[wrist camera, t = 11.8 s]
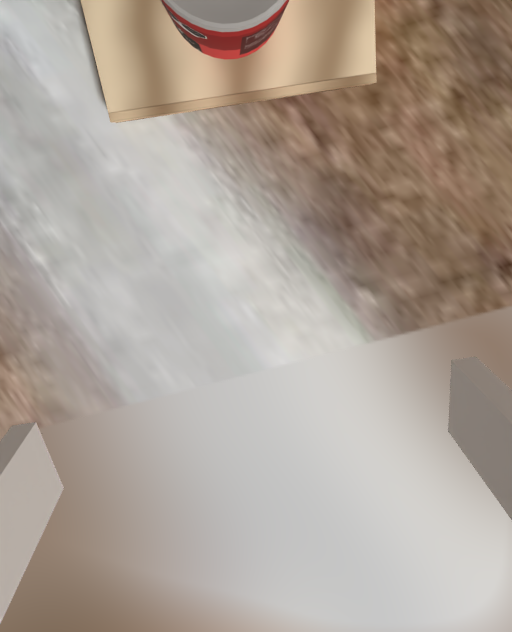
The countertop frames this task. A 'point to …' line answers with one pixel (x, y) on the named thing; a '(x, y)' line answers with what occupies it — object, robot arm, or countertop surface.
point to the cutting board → (231, 74)
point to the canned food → (226, 24)
